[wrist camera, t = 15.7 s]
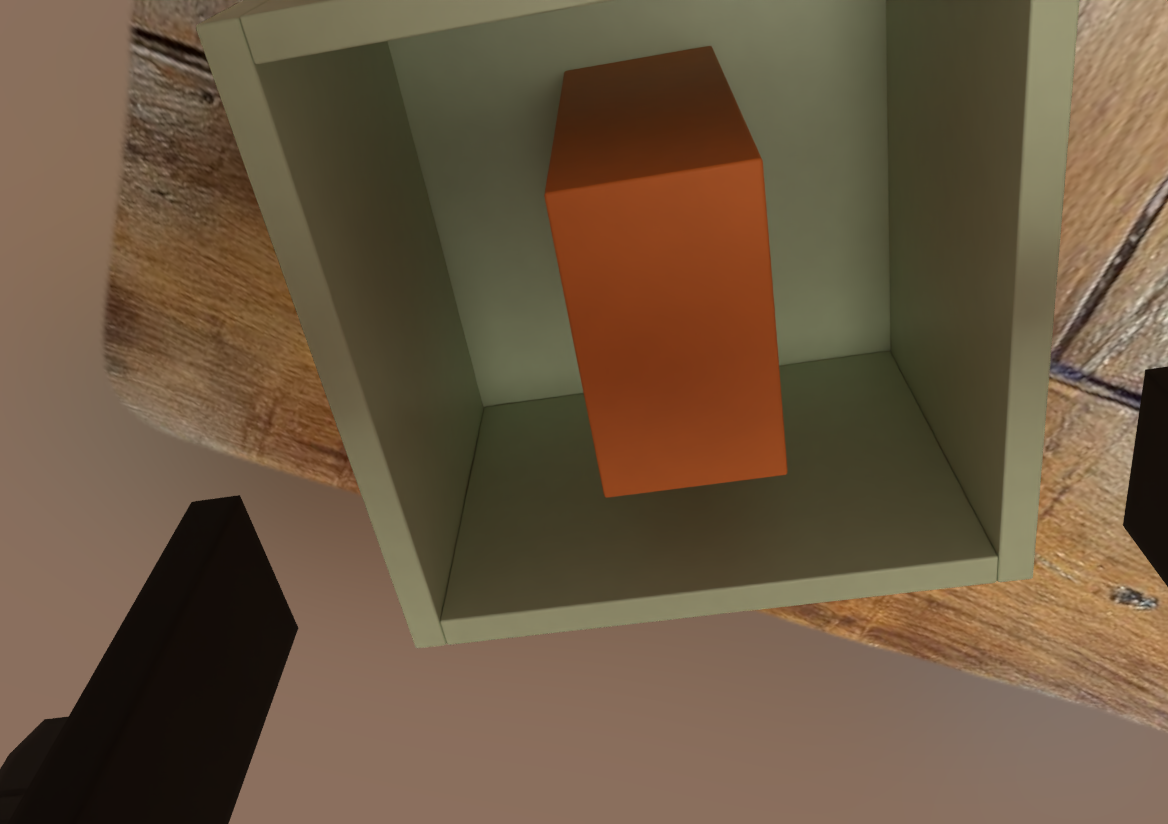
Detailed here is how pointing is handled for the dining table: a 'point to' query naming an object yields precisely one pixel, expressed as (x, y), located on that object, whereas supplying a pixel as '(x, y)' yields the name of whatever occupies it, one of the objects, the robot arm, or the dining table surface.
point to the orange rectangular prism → (667, 273)
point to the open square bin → (540, 320)
